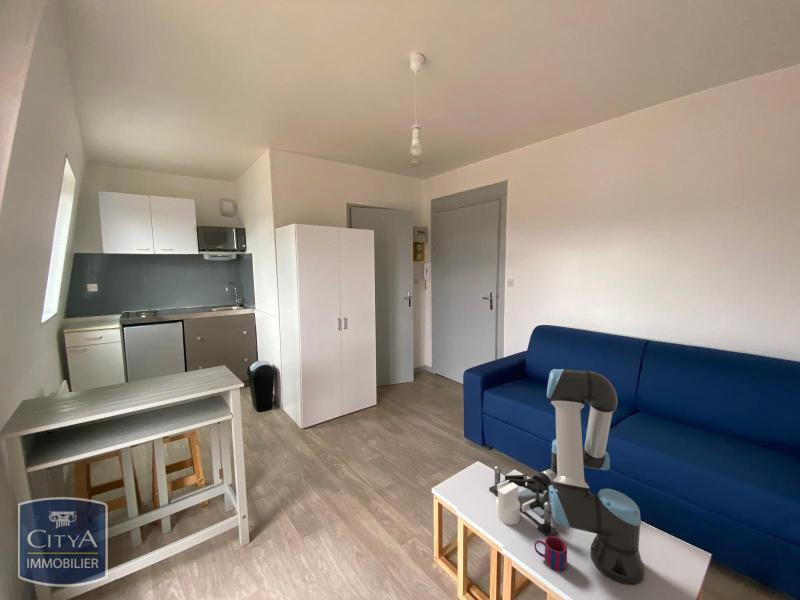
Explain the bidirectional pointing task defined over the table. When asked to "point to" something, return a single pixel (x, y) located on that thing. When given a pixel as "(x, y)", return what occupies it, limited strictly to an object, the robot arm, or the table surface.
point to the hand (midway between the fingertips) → (509, 497)
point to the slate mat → (529, 495)
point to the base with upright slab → (508, 504)
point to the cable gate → (543, 528)
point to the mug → (554, 553)
